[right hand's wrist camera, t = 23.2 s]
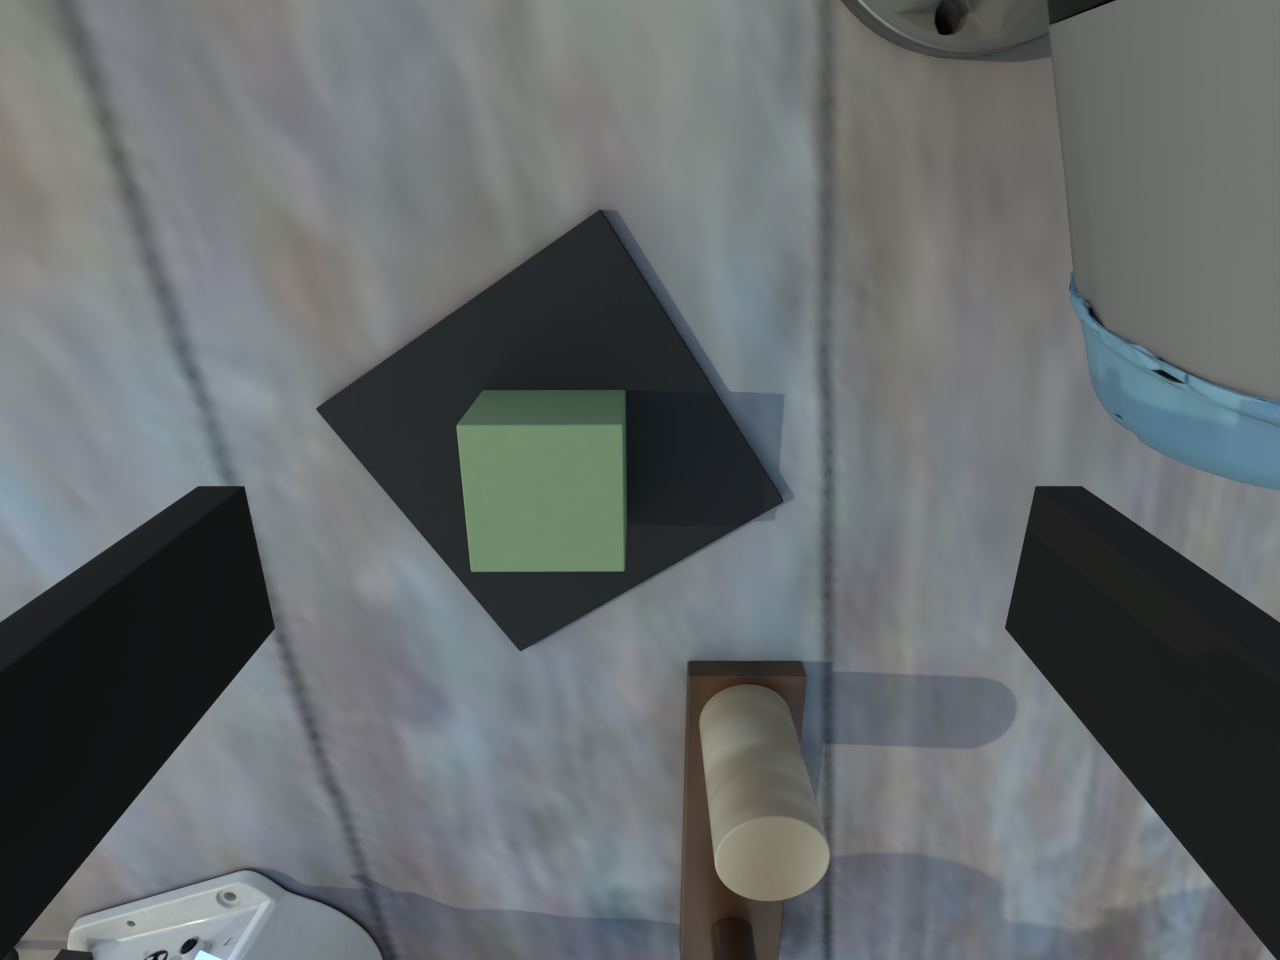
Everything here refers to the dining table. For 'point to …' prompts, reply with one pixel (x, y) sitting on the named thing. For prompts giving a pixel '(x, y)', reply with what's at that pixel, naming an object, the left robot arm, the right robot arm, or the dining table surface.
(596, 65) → the dining table surface
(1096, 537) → the right robot arm
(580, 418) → the sage green cube
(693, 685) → the caddy
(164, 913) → the left robot arm
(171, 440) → the dining table surface
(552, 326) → the slate mat
